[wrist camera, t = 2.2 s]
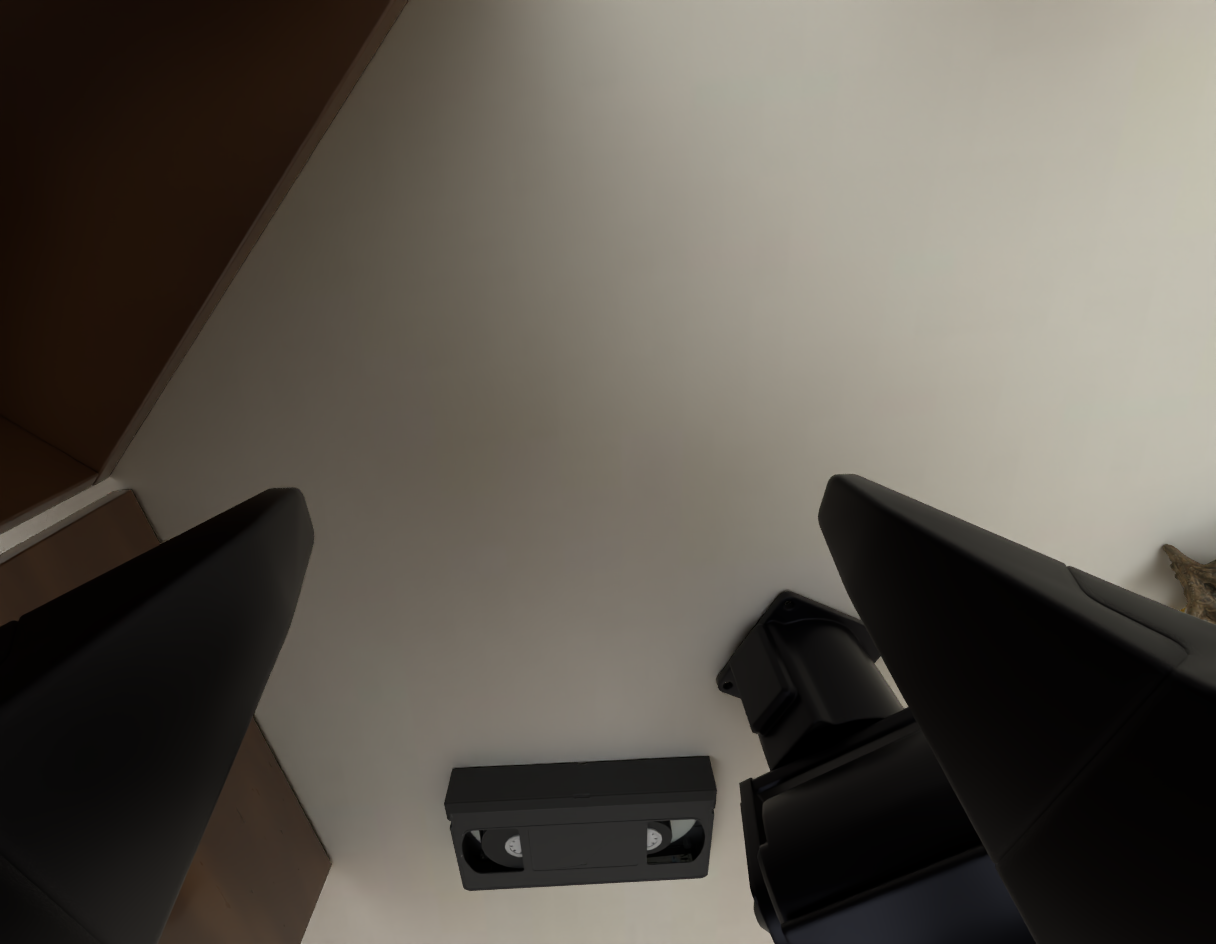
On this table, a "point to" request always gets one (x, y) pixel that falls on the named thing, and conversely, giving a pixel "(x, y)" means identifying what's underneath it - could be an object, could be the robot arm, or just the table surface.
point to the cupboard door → (255, 787)
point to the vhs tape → (582, 822)
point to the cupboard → (140, 199)
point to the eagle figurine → (1195, 584)
